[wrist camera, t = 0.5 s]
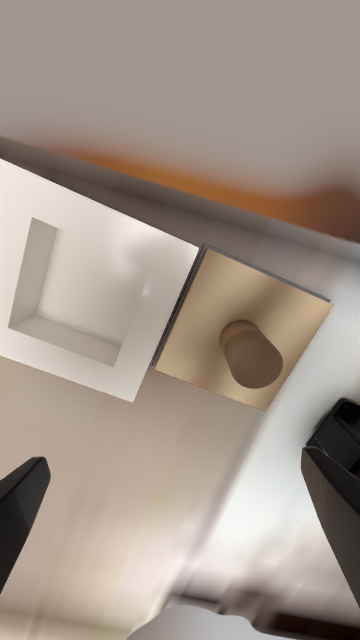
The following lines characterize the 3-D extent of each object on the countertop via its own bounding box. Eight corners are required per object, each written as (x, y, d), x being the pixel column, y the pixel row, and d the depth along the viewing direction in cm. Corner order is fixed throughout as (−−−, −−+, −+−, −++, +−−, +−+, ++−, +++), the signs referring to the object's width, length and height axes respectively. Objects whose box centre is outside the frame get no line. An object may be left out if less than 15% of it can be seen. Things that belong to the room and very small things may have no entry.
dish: (195, 247, 18) (199, 248, 14) (141, 374, 22) (132, 402, 18) (41, 177, 17) (-1, 158, 13) (8, 325, 20) (-32, 344, 17)
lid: (326, 301, 19) (380, 323, 14) (261, 404, 22) (286, 454, 17) (206, 248, 18) (217, 249, 13) (155, 363, 21) (147, 404, 16)
